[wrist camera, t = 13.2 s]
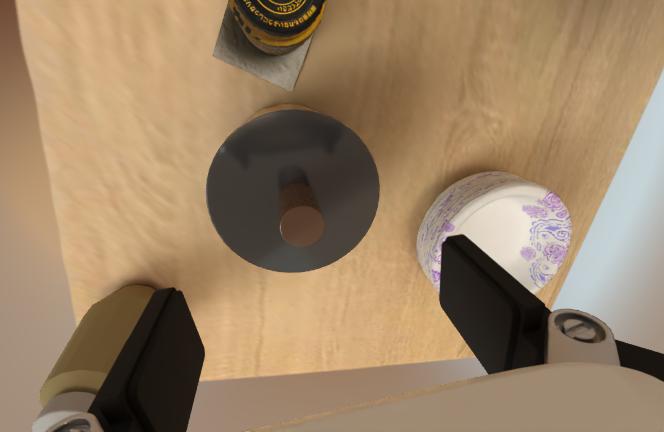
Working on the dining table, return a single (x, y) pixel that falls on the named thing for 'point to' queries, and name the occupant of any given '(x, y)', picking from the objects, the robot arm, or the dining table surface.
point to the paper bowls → (499, 226)
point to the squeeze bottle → (90, 355)
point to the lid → (292, 190)
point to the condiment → (268, 37)
